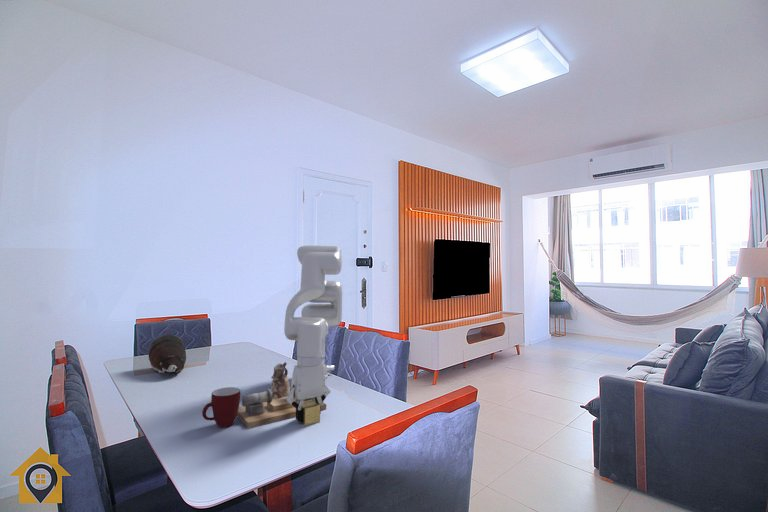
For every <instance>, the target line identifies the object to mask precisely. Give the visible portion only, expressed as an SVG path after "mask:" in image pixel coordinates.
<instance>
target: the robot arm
mask: <svg viewBox="0 0 768 512" xmlns="http://www.w3.org/2000/svg"><path fill="white" fill-rule="evenodd" d="M296 255H297V260H298V261H299V263H300V264H301V273H300V276H301V277H300V289H299V291H297V293H295V294H294V295H293V296H292V298H291V299H290V300H289V301H288V304H287V306H286V309H285V317H284V328H283V329H284V336H285V338H286V339H287V340H290V341H297V345H296V347H297V350H296V351H297V353H296V354H297V355H296V365H294V366H293V371H292V375H291V385H290V388H291V391H290V393H289V395H288V396H287V398H286V401H287V402H288V403H290V404H291V405H293V406H294V407H295V408H296V417H295V419H296V421H297V422H299V423H300V424H302V423H303V410H302V405H303V401H304V400H306V399H310V398H314V399H315V402H316V403H317V404H319V405H320V415H321V414H322V413H321V411H322V410H321V405H322V402H324V401H325V399H326V398H327V397H328V396H329V395H330V393H331V390H330V389H329V387H328V386H327V385H326V379H327V378H328V377H329V373H328V372H329V371H334V370H335V365H333V364H332V365H329V364H327V365H326V364H325V362H326V337H327V336H328V333H329V326H338V325H340V323H341V322H342V318H343V287H342V284H341V283H340V282H339V281H338V280H326V276H327V275H329V276H331V275H339V274H340V273H341V271H342V264H343V261H342V250H341V249H340V247H339V246H335V245H301V246H299V247H298V249H297V252H296ZM308 302H309V304H305V303H308ZM304 304H305V305H304ZM302 305H304V306H303V307H302V309H301V316H300V317H299V316H298V317H295V312H296V310H297V309H298V308H299V307H300V306H302ZM293 397H296V402H295V401H293Z"/></svg>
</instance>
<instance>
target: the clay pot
mask: <svg viewBox="0 0 768 512" xmlns="http://www.w3.org/2000/svg"><path fill="white" fill-rule="evenodd" d="M186 354H187V353H186V348H185V344H184V341H183V338H181V337H179V336H178V335H173V334H163V335H161V336H159V337H157V338H155V339H154V340H153V341H152V342H151V344H150V346H149V347H148V360H149V363H150V367H151V368H152V369H153V371H156V372H158V373H159V375H161V374H162V373H163V374H164V373H167V374H175V376H176V375H177V376H178V375H180V374H181V372H182V371H183V370H184V369H185V364H186V361H187V355H186Z"/></svg>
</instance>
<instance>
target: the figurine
mask: <svg viewBox="0 0 768 512" xmlns="http://www.w3.org/2000/svg"><path fill="white" fill-rule="evenodd" d="M286 366H287V362H286V361H285V362H283V364H282V363H277V364H276V366H274V367H273V375H272V376H271V377H270V378H271V379H272V382H271V387H270V390H271V392H272V400H273V399H278V398H282V397H287V396H288V395H289V393H290V392H291V391H290V388H291V385H290V381H289V378H288V373H289V372H288V369H287V368H286Z"/></svg>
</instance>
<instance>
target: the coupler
mask: <svg viewBox="0 0 768 512" xmlns="http://www.w3.org/2000/svg"><path fill="white" fill-rule="evenodd" d="M302 410H303V423H301V424H302V425H303V426H304V427H305V426H308V425H312V424H317V423H320V422H321V414H320V405H319V404H317V403H316V402H314V401H313V400H309V401H304V402H303V405H302Z"/></svg>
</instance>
